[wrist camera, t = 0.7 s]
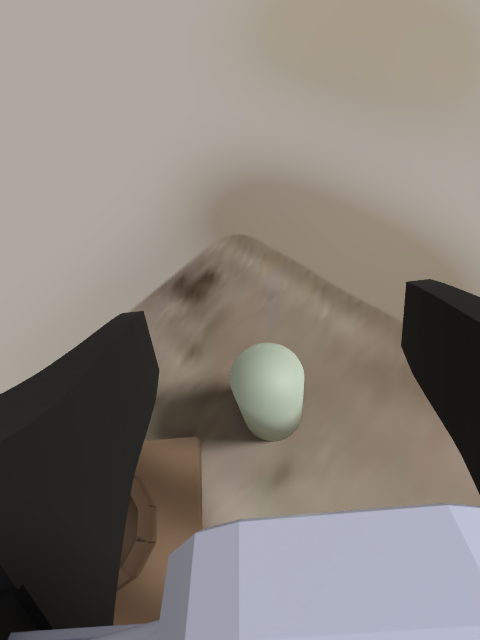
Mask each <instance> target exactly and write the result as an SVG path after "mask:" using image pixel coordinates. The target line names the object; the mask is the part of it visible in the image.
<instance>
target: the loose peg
mask: <svg viewBox="0 0 480 640" xmlns="http://www.w3.org/2000/svg"><path fill="white" fill-rule="evenodd" d="M230 386H231V390H232V392H233V395H234V397H235V399H236V402H237V404H238V406H239V409H240V411H241V414H242V416H243V418H244V421H245V423H246V425H247V427H248V429H249V430H250V431H251V432H252V433H253V434H254V435H255V436H257V437H258V438H260V439H263V440H266V441H280V440H283V439H285V438H287V437H289V436H290V435H292V434H293V433H294V432H295V431H296V429H297V428H298V426H299V424H300V421H301V417H302V405H303V390H304V371H303V367H302V365H301V363H300V361H299V359H298V358H297V356H296V355H295V354H294V353H293V352H291V351H290V350H289V349H287V348H286V347H283V346H281V345H278V344H274V343H261V344H257V345H253V346H251V347H249V348H247V349H246V350H244V351H243V352H242V353H241V354H240V355H239V356H238V357H237V358H236V360H235V361H234V363H233V365H232V368H231V371H230Z"/></svg>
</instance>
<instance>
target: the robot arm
mask: <svg viewBox="0 0 480 640" xmlns="http://www.w3.org/2000/svg"><path fill="white" fill-rule="evenodd" d="M401 346H402V349H403V352H404V354H405V357H406V359H407V362H408V364H409V366H410V369H411V371H412V373H413V375H414V377H415V379H416V380H417V382H418V384H419V385H420V387H421V389H422V390H423V392H424V394H425V395H426V397H427V399H428V400H429V402H430V403H431V405H432V407H433V408H434V410H435V411H436V413H437V415H438V416H439V418H440V420H441V421H442V423H443V424H444V426H445V428H446V429H447V431H448V432H449V434H450V436H451V437H452V439H453V441H454V442H455V444H456V446H457V448H458V450H459V451H460V453H461V455H462V457H463V459H464V462H465V464H466V466H467V468H468V470H469V472H470V474H471V476H472V479H473V481H474V483H475V485H476V487H477V489H478V492H479V494H480V297H478V296H476V295H473V294H471V293H468V292H465V291H463V290H460V289H458V288H455V287H453V286H450V285H447V284H444V283H441V282H438V281H434V280H431V279H427V280H418V281H409V282H406V293H405V305H404V317H403V330H402V342H401ZM158 378H159V367H158V364H157V360H156V356H155V352H154V349H153V345H152V341H151V337H150V334H149V330H148V326H147V323H146V319H145V315H144V311H139V312H130V313H122V314H120V315H118V316H117V317H115V318H114V319H112V320H111V321H109V322H108V323H107V324H105V325H104V326H103V327H101V328H100V329H99V330H97V331H96V332H95V333H93V334H92V335H91V336H90V337H88V338H87V339H86V340H84V341H83V342H82V343H80V344H79V345H78V346H76V347H75V348H74V349H72V350H71V351H69V352H68V353H66V354H65V355H64V356H62V357H61V358H59V359H58V360H56V361H55V362H54V363H52V364H51V365H49V366H48V367H46V368H45V369H43V370H42V371H40V372H39V373H37V374H36V375H34V376H32V377H31V378H29V379H27V380H26V381H24V382H22V383H20V384H19V385H17V386H15V387H13V388H11V389H9V390H8V391H6V392H4V393H2V394H0V640H480V506H471V505H460V504H449V503H435V504H423V505H410V506H398V507H386V508H373V509H361V510H349V511H336V512H324V513H312V514H300V515H287V516H275V517H263V518H250V519H239V520H236V521H232V522H228V523H224V524H220V525H216V526H213V527H209V528H205V529H201V530H200V531H198V532H196V533H195V534H194V535H192V536H191V537H190V538H189V539H188V540H187V541H185V542H184V543H183V544H182V545H181V546H180V547H178V548H177V549H176V550H175V551H174V552H173V553H171V554H170V555H169V558H168V565H167V572H166V579H165V586H164V593H163V599H162V606H161V613H160V620H156V621H153V622H149V623H144V624H129V625H115V626H113V621H114V611H115V601H116V593H117V585H118V577H119V569H120V560H121V553H122V546H123V539H124V532H125V526H126V519H127V513H128V507H129V501H130V495H131V489H132V484H133V479H134V475H135V471H136V467H137V463H138V460H139V456H140V453H141V450H142V446H143V443H144V439H145V436H146V432H147V429H148V426H149V422H150V418H151V415H152V411H153V408H154V404H155V400H156V394H157V387H158Z"/></svg>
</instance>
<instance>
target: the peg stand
mask: <svg viewBox="0 0 480 640" xmlns="http://www.w3.org/2000/svg"><path fill="white" fill-rule="evenodd" d="M201 529H202V484H201V440H200V439H199V438H198V437H197V436H195V437H183V438H172V439H161V440H150V441H144V443H143V446H142V450H141V453H140V456H139V460H138V463H137V467H136V471H135V475H134V479H133V484H132V489H131V495H130V501H129V507H128V513H127V519H126V526H125V532H124V539H123V546H122V553H121V560H120V569H119V577H118V585H117V593H116V601H115V611H114V621H113V626H115V625H129V624H144V623H149V622H153V621H156V620H160V613H161V606H162V599H163V593H164V586H165V579H166V572H167V565H168V558H169V555H170V554H171V553H173V552H174V551H175V550H176V549H177V548H178V547H180V546H181V545H182V544H183V543H184V542H185V541H187V540H188V539H189V538H190V537H191V536H192V535H194V534H195V533H196V532H198V531H200V530H201Z"/></svg>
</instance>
